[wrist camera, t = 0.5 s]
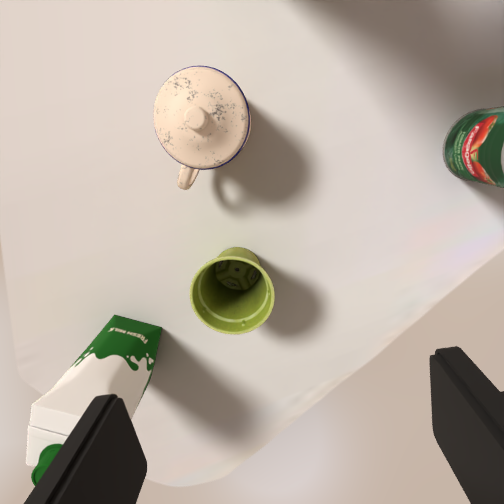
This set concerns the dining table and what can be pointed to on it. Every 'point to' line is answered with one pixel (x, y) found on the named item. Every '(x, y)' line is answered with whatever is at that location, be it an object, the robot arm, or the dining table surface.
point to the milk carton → (92, 386)
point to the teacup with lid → (201, 120)
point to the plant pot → (232, 293)
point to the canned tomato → (477, 147)
